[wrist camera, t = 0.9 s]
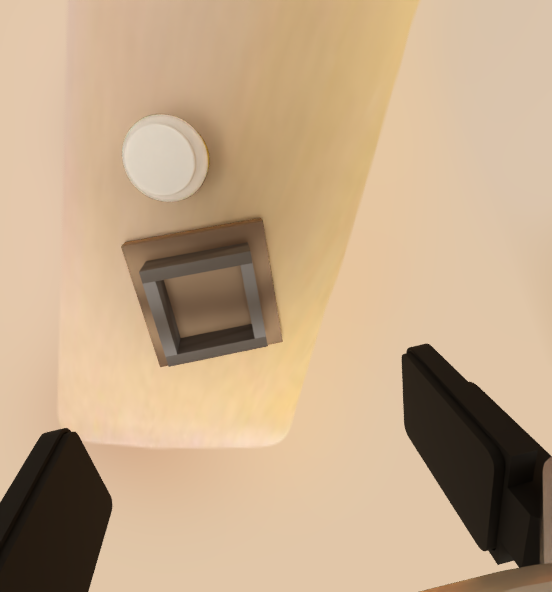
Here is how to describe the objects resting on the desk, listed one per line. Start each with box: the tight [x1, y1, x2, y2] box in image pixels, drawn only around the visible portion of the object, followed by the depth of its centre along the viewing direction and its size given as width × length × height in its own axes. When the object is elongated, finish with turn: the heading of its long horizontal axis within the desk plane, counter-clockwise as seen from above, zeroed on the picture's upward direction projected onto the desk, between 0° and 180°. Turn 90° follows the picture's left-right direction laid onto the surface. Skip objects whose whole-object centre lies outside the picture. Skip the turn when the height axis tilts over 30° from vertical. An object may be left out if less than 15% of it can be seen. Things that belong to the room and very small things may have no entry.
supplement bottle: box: [122, 114, 209, 202], centre depth 26 cm, size 5×5×10 cm
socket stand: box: [121, 218, 283, 367], centre depth 33 cm, size 12×12×4 cm
